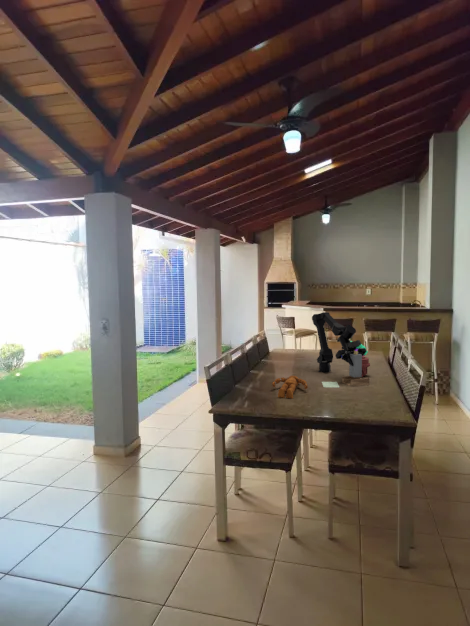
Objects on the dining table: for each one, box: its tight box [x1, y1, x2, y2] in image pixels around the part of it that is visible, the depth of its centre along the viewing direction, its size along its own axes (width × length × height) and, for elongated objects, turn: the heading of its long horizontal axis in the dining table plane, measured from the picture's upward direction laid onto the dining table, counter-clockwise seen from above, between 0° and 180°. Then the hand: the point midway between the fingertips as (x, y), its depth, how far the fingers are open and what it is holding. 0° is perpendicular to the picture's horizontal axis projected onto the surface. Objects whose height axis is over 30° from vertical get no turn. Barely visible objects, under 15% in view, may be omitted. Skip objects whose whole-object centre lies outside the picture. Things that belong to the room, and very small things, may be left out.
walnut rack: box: [341, 375, 370, 388], centre depth 244 cm, size 9×12×4 cm
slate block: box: [348, 351, 363, 378], centre depth 243 cm, size 5×5×15 cm
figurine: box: [341, 340, 369, 359], centre depth 316 cm, size 18×14×20 cm
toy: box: [271, 375, 308, 399], centre depth 232 cm, size 20×7×30 cm
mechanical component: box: [361, 356, 371, 378], centre depth 262 cm, size 12×10×10 cm
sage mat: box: [321, 381, 340, 388], centre depth 242 cm, size 12×9×1 cm
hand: (356, 365), depth 241 cm, fingers closed on slate block, 5 cm apart
